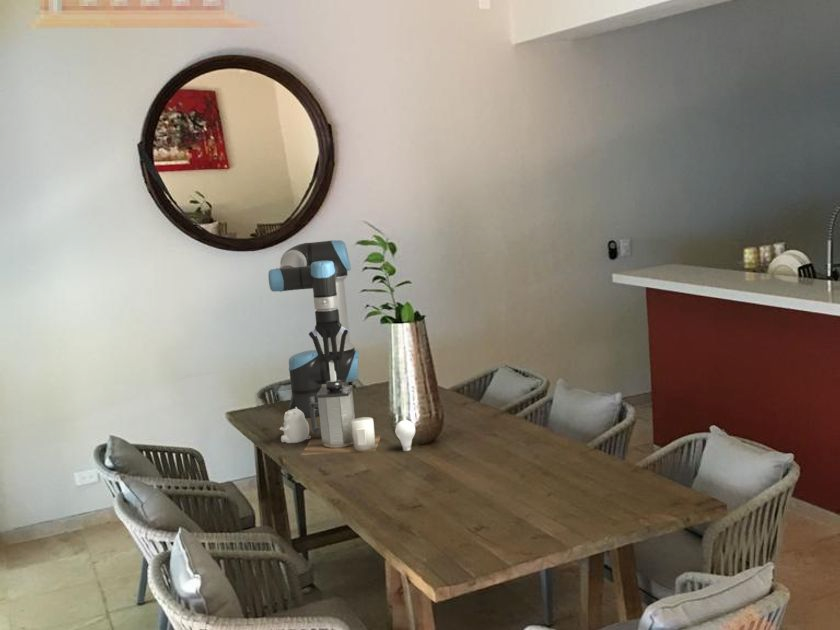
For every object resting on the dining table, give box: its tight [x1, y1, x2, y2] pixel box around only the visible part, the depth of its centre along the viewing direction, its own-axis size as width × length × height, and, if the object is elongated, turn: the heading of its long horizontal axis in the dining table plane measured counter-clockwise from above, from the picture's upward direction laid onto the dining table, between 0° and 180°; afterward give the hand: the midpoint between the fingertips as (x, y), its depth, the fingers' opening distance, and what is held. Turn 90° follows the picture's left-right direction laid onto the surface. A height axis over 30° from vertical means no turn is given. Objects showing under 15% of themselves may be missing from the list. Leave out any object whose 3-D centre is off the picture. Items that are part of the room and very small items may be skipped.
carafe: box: [309, 384, 356, 448], centre depth 285 cm, size 11×14×18 cm
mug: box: [351, 416, 376, 452], centre depth 278 cm, size 9×7×9 cm
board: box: [300, 434, 382, 456], centre depth 284 cm, size 16×24×2 cm, turn 87°
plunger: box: [325, 380, 343, 391], centre depth 284 cm, size 8×8×18 cm
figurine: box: [278, 407, 311, 444], centre depth 295 cm, size 10×10×12 cm
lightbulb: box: [394, 419, 416, 452], centre depth 273 cm, size 6×6×11 cm
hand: (333, 380), depth 283 cm, fingers closed
